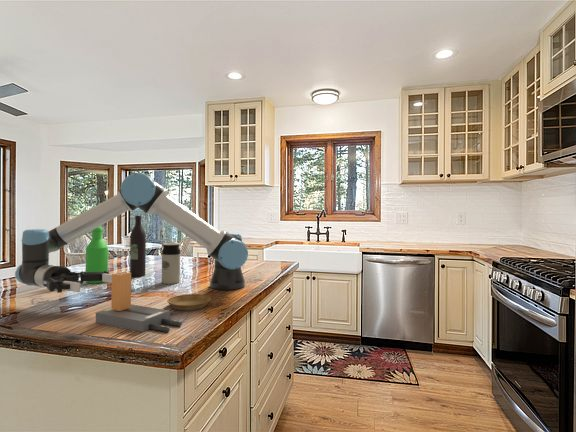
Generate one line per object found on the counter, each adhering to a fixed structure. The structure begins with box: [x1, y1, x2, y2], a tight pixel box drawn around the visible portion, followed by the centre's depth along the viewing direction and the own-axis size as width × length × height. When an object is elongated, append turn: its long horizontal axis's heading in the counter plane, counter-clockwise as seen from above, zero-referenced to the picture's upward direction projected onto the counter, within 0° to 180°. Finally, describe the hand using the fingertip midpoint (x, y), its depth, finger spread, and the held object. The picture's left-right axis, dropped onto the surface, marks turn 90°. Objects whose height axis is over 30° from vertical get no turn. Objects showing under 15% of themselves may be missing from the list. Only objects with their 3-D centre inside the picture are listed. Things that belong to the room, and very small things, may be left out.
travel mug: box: [161, 242, 181, 285], centre depth 158 cm, size 8×8×18 cm
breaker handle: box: [110, 271, 132, 311], centre depth 105 cm, size 4×4×11 cm
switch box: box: [95, 303, 183, 333], centre depth 102 cm, size 25×11×3 cm, turn 68°
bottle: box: [85, 226, 109, 284], centre depth 156 cm, size 9×9×25 cm
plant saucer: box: [166, 293, 212, 311], centre depth 121 cm, size 15×15×3 cm
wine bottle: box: [129, 215, 147, 278], centre depth 171 cm, size 7×7×30 cm
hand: (99, 283), depth 108 cm, fingers open, 13 cm apart
